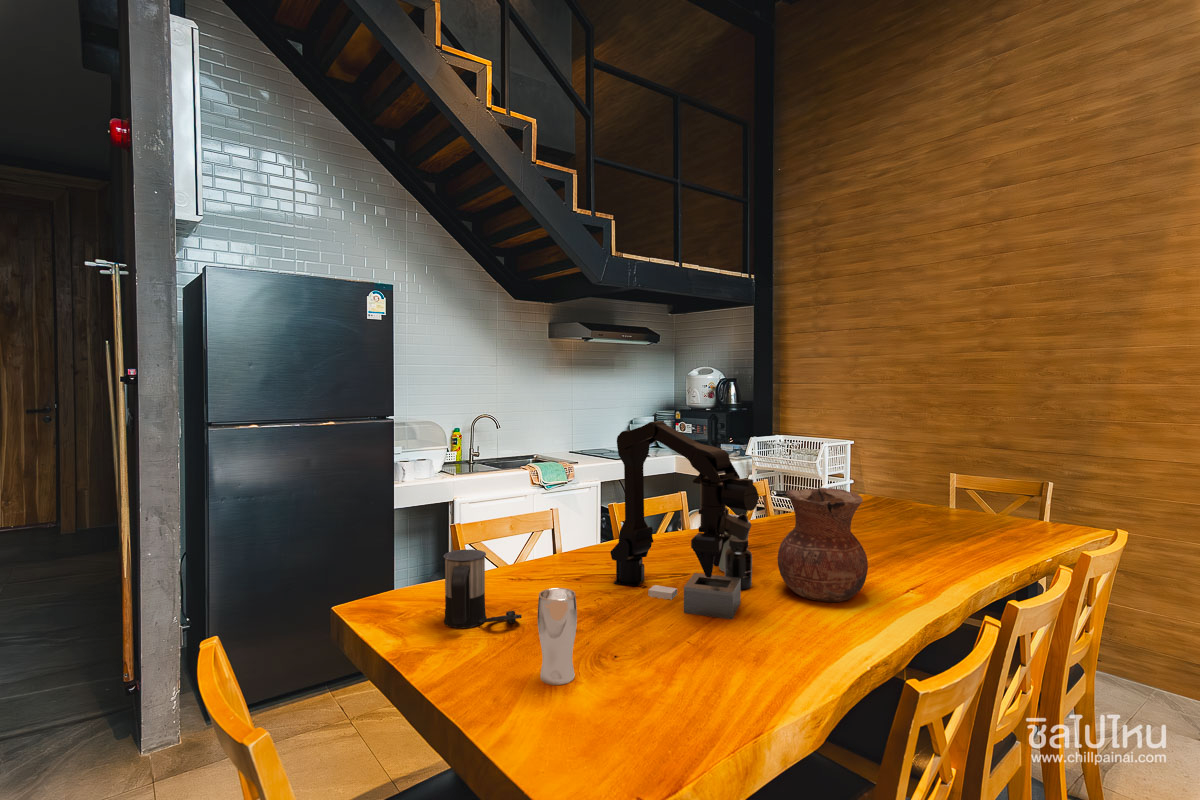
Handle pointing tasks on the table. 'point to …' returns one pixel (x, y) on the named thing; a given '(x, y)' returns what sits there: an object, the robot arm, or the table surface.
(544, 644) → the beer glass
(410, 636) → the table surface
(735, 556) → the supplement bottle
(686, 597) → the grey hollow block
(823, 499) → the brown clay vase
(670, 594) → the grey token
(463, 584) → the milk frother
